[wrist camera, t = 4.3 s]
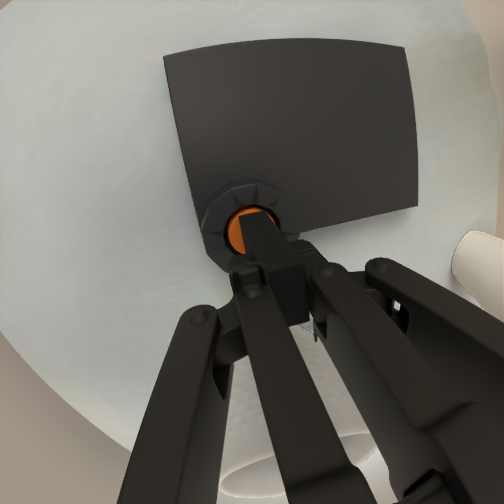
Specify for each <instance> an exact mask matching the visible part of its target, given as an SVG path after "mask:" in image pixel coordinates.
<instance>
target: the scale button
mask: <svg viewBox="0 0 504 504" xmlns="http://www.w3.org/2000/svg"><path fill="white" fill-rule="evenodd" d="M263 210H265V209H264V208H262V207H261V206H259V205H256V204H253V205H249V206H244V207H240V208H239V209H238V210H237V211H235V212H234V213H233V214H232V215H231V216H230V217H229V218H228V219H227V223H226V229H227V233H228V237H229V240H230V243H231V245H232V246H233V247H234V249H235V250H237V251H238V252H240V253H242V254H246V252H245V247H244V243H243V238H242V233H241V228H240V223H239V218H238V216H240V215H245V214H249V213H254V212H258V211H263ZM265 212H266V213H267V211H266V210H265ZM267 214H268V213H267ZM268 215H269V214H268ZM269 217H270V218H271V216H270V215H269ZM271 219H272V218H271ZM272 220H273V219H272ZM273 222H274V220H273ZM274 223H275V222H274Z"/></svg>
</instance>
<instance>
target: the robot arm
mask: <svg viewBox="0 0 504 504" xmlns="http://www.w3.org/2000/svg"><path fill="white" fill-rule="evenodd" d="M238 218H239V223H240V228H241V233H242V238H243V243H244V247H245V252H246V254H242V255H238V256H233V257H230V258H229V260H228V262H227V266H228V271H229V278H230V282H231V286H232V290H233V298H232V299H231V301H230V302H229V303H228V304H226V305H225V306H223V307H221V308H219V309H217V310H216V309H215V307H213V306H210V305H198V306H194V307H192V308H189V309H188V310H186V311H185V312H184V313H183V314H182V316H181V317H180V319H179V322H178V324H177V327H176V330H175V332H174V335H173V337H172V340H171V343H170V345H169V348H168V351H167V353H166V356H165V359H164V361H163V364H162V367H161V369H160V372H159V375H158V378H157V380H156V383H155V386H154V389H153V391H152V394H151V397H150V400H149V403H148V406H147V409H146V411H145V414H144V417H143V420H142V423H141V426H140V429H139V432H138V435H137V438H136V441H135V444H134V448H133V451H132V454H131V457H130V460H129V463H128V467H127V470H126V473H125V477H124V480H123V483H122V487H121V490H120V494H119V497H118V501H117V504H216V500H217V493H218V486H219V478H220V470H221V463H222V455H223V448H224V440H225V433H226V425H227V418H228V410H229V403H230V395H231V388H232V380H233V373H234V362H236V361H238V360H240V359H242V358H244V357H246V356H249V360H250V364H251V368H252V372H253V376H254V379H255V383H256V387H257V391H258V395H259V399H260V402H261V406H262V410H263V414H264V417H265V421H266V425H267V428H268V432H269V435H270V439H271V443H272V446H273V450H274V453H275V457H276V460H277V464H278V467H279V471H280V474H281V477H282V481H283V484H284V488H285V492H286V496H287V499H288V502H289V504H377V502H376V500H375V498H374V495H373V493H372V491H371V489H370V487H369V485H368V483H367V481H366V479H365V477H364V475H363V473H362V472H361V471H360V469H359V468H358V467H356V466H355V465H353V464H352V463H351V461H350V460H349V458H348V456H347V454H346V452H345V449H344V447H343V445H342V443H341V441H340V438H339V436H338V434H337V432H336V430H335V427H334V425H333V423H332V421H331V419H330V416H329V414H328V412H327V410H326V408H325V405H324V403H323V401H322V399H321V397H320V394H319V392H318V390H317V388H316V386H315V383H314V381H313V379H312V377H311V375H310V372H309V370H308V368H307V366H306V364H305V361H304V359H303V357H302V355H301V353H300V350H299V348H298V346H297V344H296V342H295V340H294V337H293V335H292V333H291V331H290V329H289V327H291V326H294V325H298V324H301V323H305V322H308V321H310V318H309V311H310V313H311V315H312V317H313V327H314V341H315V342H317V336H318V337H319V338H320V340H321V342H322V344H323V346H324V347H325V349H326V351H327V353H328V355H329V357H330V358H331V360H332V362H333V364H334V366H335V368H336V369H337V371H338V373H339V375H340V377H341V379H342V381H343V382H344V384H345V386H346V388H347V390H348V392H349V394H350V395H351V397H352V399H353V401H354V403H355V405H356V407H357V409H358V411H359V412H360V414H361V416H362V418H363V420H364V422H365V424H366V426H367V428H368V429H369V431H370V433H371V435H372V437H373V439H374V441H375V443H376V445H377V447H378V449H379V451H380V452H381V454H382V456H383V458H384V460H385V462H386V464H387V466H388V469H389V480H390V485H391V487H392V489H393V491H394V494H395V496H396V498H397V500H398V502H397V503H393V504H504V322H502V321H500V320H499V319H497V318H495V317H494V316H492V315H491V314H489V313H487V312H486V311H484V310H482V309H481V308H479V307H477V306H475V305H474V304H472V303H470V302H469V301H467V300H465V299H463V298H462V297H460V296H458V295H456V294H455V293H453V292H451V291H449V290H448V289H446V288H444V287H442V286H440V285H439V284H437V283H435V282H433V281H431V280H429V279H428V278H426V277H424V276H422V275H420V274H418V273H416V272H414V271H413V270H411V269H409V268H407V267H405V266H403V265H401V264H399V263H397V262H395V261H393V260H391V259H388V258H382V257H380V258H374V259H371V260H369V261H368V262H367V263H366V265H365V271H358V272H348V271H347V270H346V269H345V268H344V267H343V266H341V265H340V264H337V263H333V262H328V261H327V260H326V259H325V258H324V257H323V256H322V254H321V253H320V252H319V251H318V250H317V249H316V248H315V247H314V246H313V245H312V244H311V243H310V242H308V241H306V240H303V239H302V240H297V241H293V242H289V241H288V240H287V238H286V237H285V236H284V234H283V233H282V232H281V231H280V229H279V228H278V227H277V226H276V224H275V223H274V222H273V220H272V219H271V218H270V217H269V215H268V214H267V213H266V212H265V210H263V211H258V212H254V213H249V214H245V215H240V216H238ZM395 301H397V302H398V303H400V304H401V305H400V310H399V311H398V310H396V309H395V308H394V303H395Z"/></svg>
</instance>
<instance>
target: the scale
mask: <svg viewBox="0 0 504 504" xmlns="http://www.w3.org/2000/svg"><path fill="white" fill-rule="evenodd" d="M163 60H164V66H165V71H166V77H167V82H168V88H169V93H170V98H171V103H172V108H173V113H174V118H175V123H176V128H177V133H178V137H179V142H180V146H181V151H182V155H183V160H184V164H185V169H186V173H187V177H188V182H189V186H190V190H191V194H192V198H193V202H194V206H195V210H196V214H197V218H198V222H199V226H200V230H201V234H202V238H203V242H204V245H205V249H206V253H207V255H208V256H209V257H210V258H211V259H212V260H213V261H214V262H215V263H216V264H217V265H218V266H219V267H220V268H221V269H222V270H224V271H225V272H227V273H229V271H228V266H227V262H228V260H229V258H230V257H233V256H238V255H242V253H240V252H238V251H237V250H235V249H234V247H233V246H232V245H231V243H230V240H229V237H228V233H227V229H226V223H227V219H228V218H229V217H230V216H231V215H232V214H233V213H234V212H235V211H237V210H238V209H239V208H240V207H244V206H249V205H253V204H256V205H259V206H261V207H262V208H264V209H265V210H266V211H267V213H268V214H269V215H270V216H271V218H272V219H273V220H274V222H275V224H276V226H277V227H278V228H279V229H280V231H281V232H282V233H283V234H284V236H285V237H286V238H287V240H288V241H289V242H293V241H297V240H298V238H299V236H300V232H304V231H309V230H313V229H317V228H322V227H326V226H330V225H335V224H339V223H344V222H348V221H352V220H357V219H361V218H366V217H370V216H374V215H379V214H383V213H388V212H392V211H397V210H401V209H406V208H410V207H415V206H418V149H417V132H416V121H415V111H414V102H413V94H412V87H411V81H410V75H409V69H408V64H407V59H406V54H405V49H404V48H403V47H398V46H393V45H386V44H380V43H372V42H364V41H354V40H341V39H321V38H287V39H267V40H254V41H244V42H235V43H228V44H221V45H214V46H208V47H203V48H198V49H193V50H188V51H183V52H179V53H174V54H170V55H166V56H163Z"/></svg>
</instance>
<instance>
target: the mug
mask: <svg viewBox="0 0 504 504" xmlns="http://www.w3.org/2000/svg"><path fill="white" fill-rule="evenodd" d="M289 329H290V331H291V333H292V335H293V337H294V340H295V342H296V344H297V346H298V348H299V350H300V353H301V355H302V357H303V359H304V361H305V364H306V366H307V368H308V370H309V372H310V375H311V377H312V379H313V381H314V383H315V386H316V388H317V390H318V392H319V394H320V397H321V399H322V401H323V403H324V405H325V408H326V410H327V412H328V414H329V416H330V419H331V421H332V423H333V425H334V427H335V430H336V432H337V434H338V436H339V438H340V441H341V443H342V445H343V447H344V449H345V452H346V454H347V456H348V458H349V460H350V461H351V463H352V464H353V465H355V466H356V467H357V466H358V465H360V464H361V463H363V462H364V461H365V460H366V459H368V458H369V457H370V456H371V455H372V454H373V453H374V452H375V450H376V449H377V448H378V447H377V445H376V443H375V441H374V439H373V437H372V435H371V433H370V431H369V429H368V428H367V426H366V424H365V422H364V420H363V418H362V416H361V414H360V412H359V411H358V409H357V407H356V405H355V403H354V401H353V399H352V397H351V395H350V394H349V392H348V390H347V388H346V386H345V384H344V382H343V381H342V379H341V377H340V375H339V373H338V371H337V369H336V368H335V366H334V364H333V362H332V360H331V358H330V357H329V355H328V353H327V351H326V349H325V347H324V346H323V344H322V343H321V342H320V340H319V339H317V342H315V341H314V336H313V335H312V334H311V333H310V332H308V331H306V330H305V329H303V328H302V327H299V326H297V325H294V326H291V327H289ZM218 490H219V491H220V492H222V493H223V494H226V495H229V496H232V497H239V498H271V497H278V496H284V495H286V492H285V488H284V484H283V481H282V477H281V474H280V471H279V467H278V464H277V460H276V457H275V453H274V450H273V446H272V443H271V439H270V435H269V432H268V428H267V425H266V421H265V417H264V414H263V410H262V406H261V402H260V399H259V395H258V391H257V387H256V383H255V379H254V376H253V372H252V368H251V364H250V360H249V356H246V357H244V358H242V359H240V360H238V361H236V362H234V373H233V380H232V388H231V395H230V403H229V410H228V418H227V425H226V433H225V440H224V448H223V455H222V463H221V470H220V478H219V486H218Z"/></svg>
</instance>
